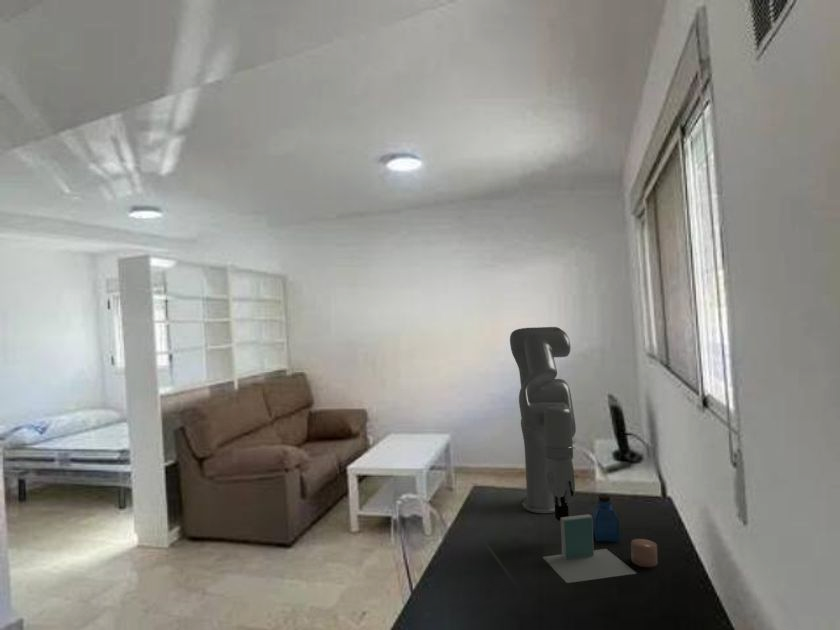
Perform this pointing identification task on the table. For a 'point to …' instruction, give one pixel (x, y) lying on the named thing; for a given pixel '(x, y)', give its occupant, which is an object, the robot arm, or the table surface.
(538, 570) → the table surface
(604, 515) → the perfume bottle
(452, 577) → the table surface
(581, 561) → the mat
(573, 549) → the tile
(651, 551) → the brown rounded cylinder
